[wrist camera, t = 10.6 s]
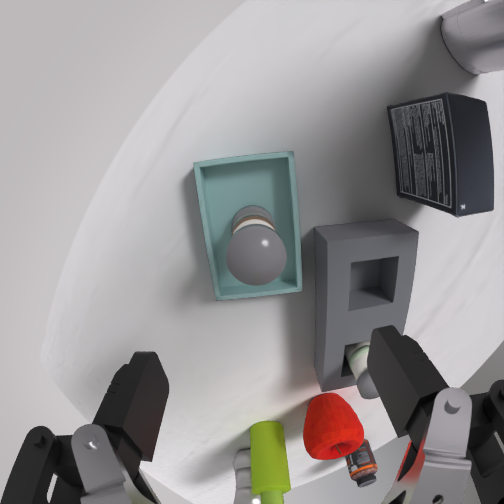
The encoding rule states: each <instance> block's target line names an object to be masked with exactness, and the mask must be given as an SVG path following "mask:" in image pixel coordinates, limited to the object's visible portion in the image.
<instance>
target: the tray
mask: <svg viewBox="0 0 504 504" xmlns="http://www.w3.org/2000/svg"><path fill="white" fill-rule="evenodd" d="M193 164H194V172H195V179H196V186H197V193H198V199H199V206H200V212H201V218H202V225H203V231H204V237H205V242H206V248H207V254H208V260H209V265H210V271H211V276H212V281H213V287H214V292H215V297H216V301H219V300H229V299H239V298H249V297H258V296H267V295H275V294H284V293H292V292H300V291H302V265H301V244H300V227H299V212H298V198H297V186H296V174H295V163H294V153H293V151H288V152H276V153H264V154H254V155H245V156H237V157H229V158H221V159H214V160H208V161H201V162H195V163H193ZM249 205H257V206H261V207H263V208H265V209H266V210H267V211H268V212H269V213H270V214H271V216H272V218H273V220H274V223H275V230H276V232H277V233H278V234H279V236H280V237H281V239H282V242H283V244H284V247H285V249H286V254H287V260H286V265H285V267H284V270H283V271H282V273H281V274H280V275H279V276H278V277H277V278H276V279H275V280H274V281H272V282H270V283H268V284H265V285H260V286H253V285H247V284H244V283H242V282H240V281H239V280H237V279H236V278H235V277H234V276H233V275H232V274H231V272H230V271H229V269H228V266H227V262H226V253H227V248H228V243H229V240H230V239H231V236H232V232H231V226H232V221H233V218H234V216H235V214H236V213H237V212H238V211H239V210H240V209H241V208H243V207H245V206H249Z"/></svg>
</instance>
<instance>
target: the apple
mask: <svg viewBox="0 0 504 504" xmlns="http://www.w3.org/2000/svg"><path fill="white" fill-rule="evenodd" d="M363 439H364V430H363V426H362V424H361V423H360V421H359V419H358V417H357V415H356V413H355V412H354V410H353V409H352V408H351V406H350V405H349V404H348V403H347V402H346V401H345V400H344V399H343V398H342V397H340V396H339V395H338V394H335V393H326V394H323V395H320V396H318V397H316V398H314V399H313V400H312V401H311V402H310V404H309V407H308V410H307V414H306V418H305V424H304V430H303V440H304V445H305V448H306V451H307V452H308V454H309V455H310V456H311V457H312V458H314V459H319V460H329V459H337V458H340V457H343V456H346V455H348V454H351V453H352V452H354V451H356V450H357V449H358V448H359V447H360V446H361V445H362V444H363Z"/></svg>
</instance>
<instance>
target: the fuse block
mask: <svg viewBox="0 0 504 504" xmlns="http://www.w3.org/2000/svg"><path fill="white" fill-rule="evenodd" d="M418 235H419V231H417V230H415V229H413V228H411V227H409V226H407V225H405V224H403V223H402V222H400V221H398V220H396V219H393V220H382V221H371V222H360V223H349V224H339V225H328V226H318V227H314V238H315V274H316V326H315V361H314V367H315V371H316V374H317V378H318V381H319V384H320V388H321V391H322V392H326V391H331V390H336V389H341V388H345V387H350V386H354V385H357V388H358V390H359V392H360V395H361V397H362V398H364V399H374V398H377V397H380V396H379V394H378V392H377V389H376V387H375V385H374V383H373V381H372V379H371V377H370V375H369V372H368V368H367V356H368V351H369V346H370V340H371V334H372V331H373V329H375V328H380V327H384V326H389V325H393V326H395V328H396V329H397V330H398V332H399V333H400V334H401V336H403V332H404V327H405V323H406V318H407V313H408V308H409V303H410V298H411V292H412V286H413V279H414V272H415V264H416V256H417V246H418Z"/></svg>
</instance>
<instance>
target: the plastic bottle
mask: <svg viewBox="0 0 504 504" xmlns="http://www.w3.org/2000/svg"><path fill="white" fill-rule="evenodd" d="M233 465H234V470H235V478H236V491H235V499H234V504H261V498H260V495H256V494H253V493H252V482H251V449H247V450H242V451H239V452H238V453H237V454H236V455H235V456H234V460H233Z"/></svg>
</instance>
